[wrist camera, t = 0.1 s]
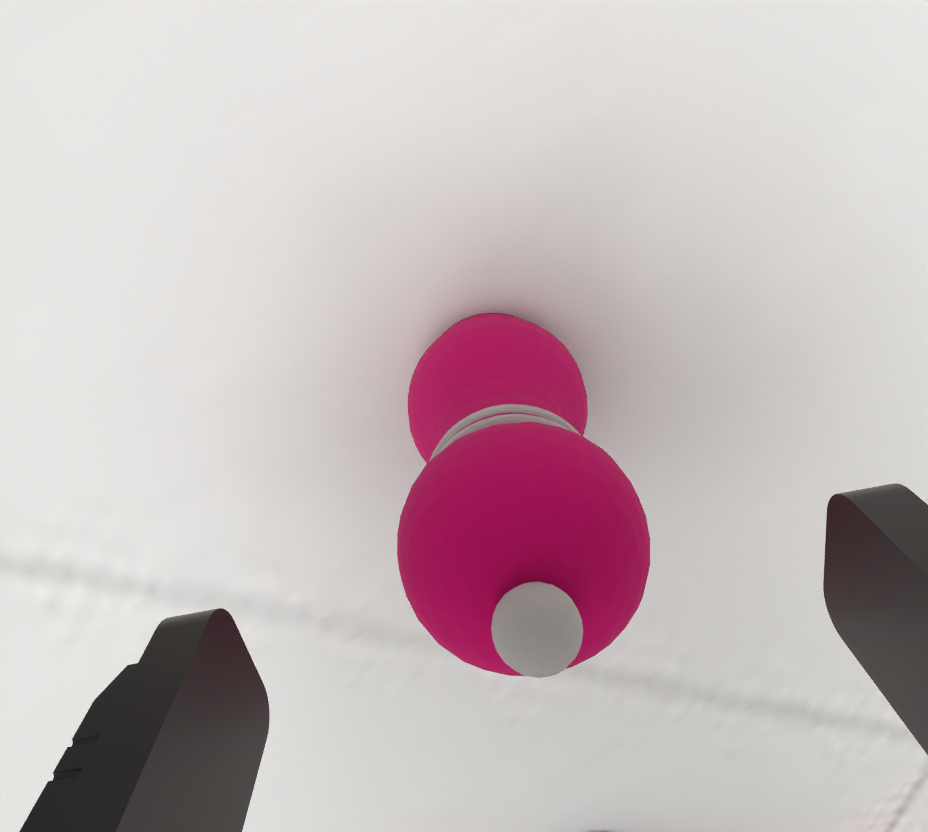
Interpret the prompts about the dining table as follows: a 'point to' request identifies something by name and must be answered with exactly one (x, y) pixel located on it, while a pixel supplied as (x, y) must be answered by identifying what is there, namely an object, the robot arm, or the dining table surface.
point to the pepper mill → (515, 505)
